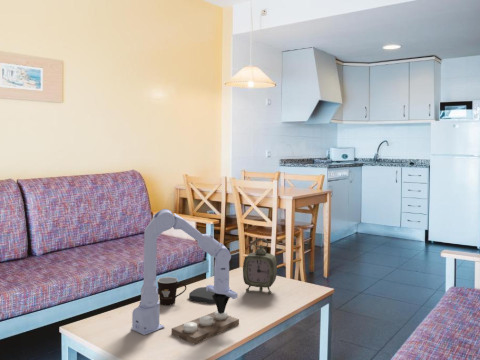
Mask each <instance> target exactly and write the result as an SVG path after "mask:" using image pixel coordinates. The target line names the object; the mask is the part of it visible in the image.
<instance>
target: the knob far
mask: <svg viewBox="0 0 480 360" xmlns="http://www.w3.org/2000/svg"><path fill="white" fill-rule="evenodd" d="M214 312H215V311H214ZM227 315H228V311H227V310H225V311H224V313H222V314H220V313H218V310H216V312H215V319H217V320H221V321H222V320H225V319H227Z"/></svg>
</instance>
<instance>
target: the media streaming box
mask: <svg viewBox="0 0 480 360" xmlns="http://www.w3.org/2000/svg"><path fill="white" fill-rule="evenodd" d="M214 294H215V292H212V291H206V286H202V287H198V288H195V289H193V290H191V291H190V292H189V294H188V297H189V298H188V299H189V300H190V301H193V302H198V303H203V304H207V305H208V304H209V305H216V303H215V301H214V299H213V297H212V295H214Z"/></svg>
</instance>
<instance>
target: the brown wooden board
mask: <svg viewBox="0 0 480 360" xmlns="http://www.w3.org/2000/svg"><path fill="white" fill-rule="evenodd" d="M216 311H217V310H216ZM216 311H213V312H210V313H208V314H205V315H204V316H210V317H212V318H213V324H212V325H211V326H207V327H205V326H201V325H200V317H199V318H198V317H197V318H195V319H193V320H190V321H189V322H194V323H196V324H197V331H196V332H194V333H186V332H184V331H183V328H184V324H185V323H182V324H180V325H178V326H174V327H171V335H173V336H175V337H177V338H180V339H182V340H184V341H186V342H189V343H191V344H194V345H197V343H200V342H203V341H205V340H207V339H210V338H212V337H213V336H214V337H215V336H216V335H219V334H220V333H222V332H225V331H227V330H229V329H232V328H234V327H236V326H238V325H240V319H239V318H236V317H235V316H234V317H233V316H232V315H228V314H227V319H225V320H222V321H221V320H217V319H215V312H216Z"/></svg>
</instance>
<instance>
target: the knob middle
mask: <svg viewBox="0 0 480 360" xmlns="http://www.w3.org/2000/svg"><path fill="white" fill-rule="evenodd" d="M199 318H200V325H201V326H205V327H207V326H211V325H212V324H213V318H212V317H210V316H205V315H203V316H200V317H199Z"/></svg>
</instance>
